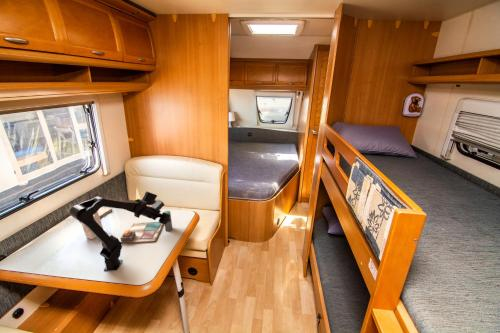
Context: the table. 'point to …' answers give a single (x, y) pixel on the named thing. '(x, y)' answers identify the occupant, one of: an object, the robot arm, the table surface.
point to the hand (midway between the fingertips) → (165, 218)
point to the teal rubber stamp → (168, 225)
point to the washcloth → (103, 212)
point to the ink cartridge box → (87, 231)
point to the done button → (127, 233)
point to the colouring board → (143, 233)
